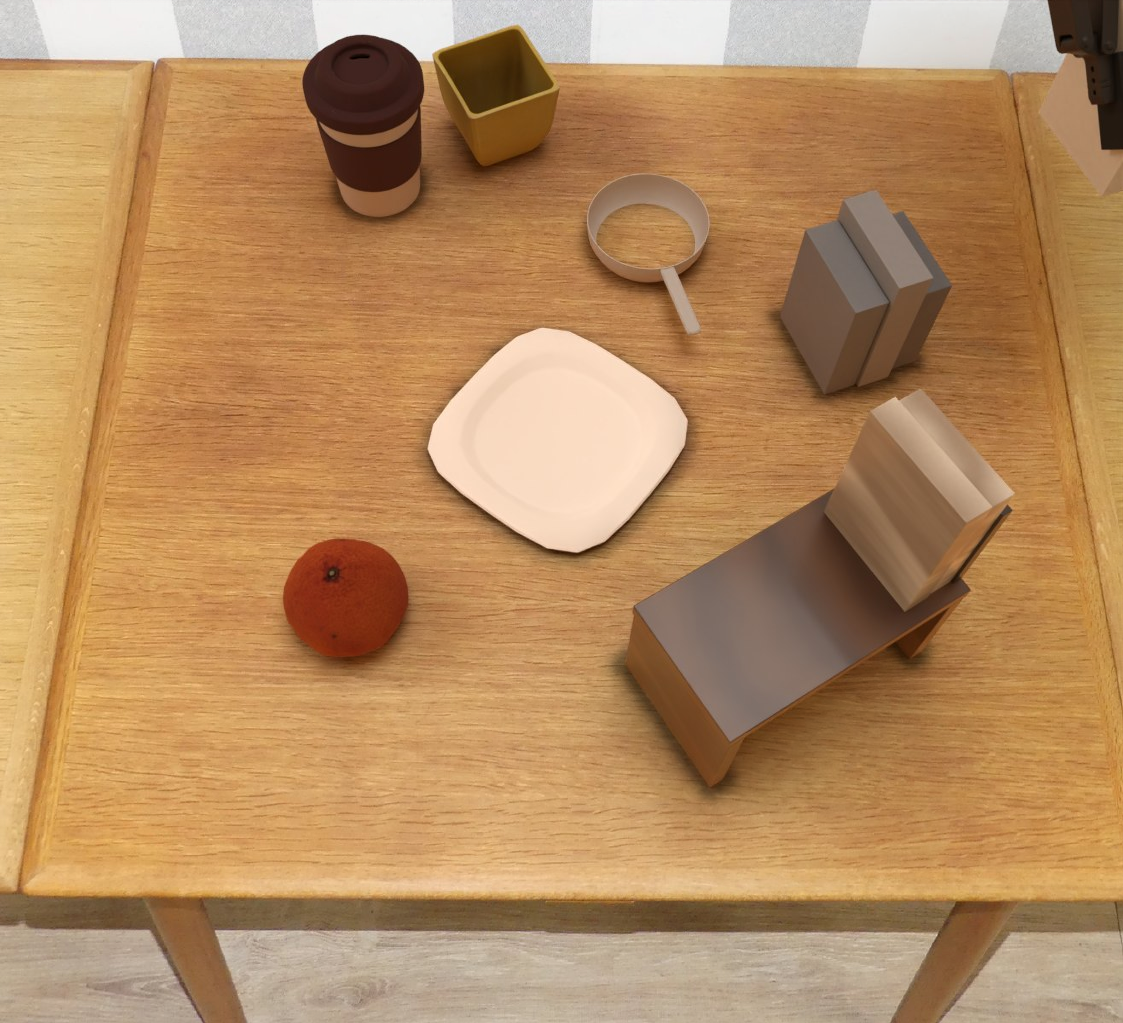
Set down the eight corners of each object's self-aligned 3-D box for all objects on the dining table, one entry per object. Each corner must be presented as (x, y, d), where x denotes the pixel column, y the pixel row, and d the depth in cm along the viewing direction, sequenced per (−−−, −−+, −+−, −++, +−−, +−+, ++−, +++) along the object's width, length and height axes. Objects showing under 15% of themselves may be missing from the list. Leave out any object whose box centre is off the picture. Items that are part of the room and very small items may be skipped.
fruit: (276, 655, 92) (254, 614, 85) (318, 552, 96) (301, 505, 89) (388, 686, 91) (376, 647, 84) (426, 580, 95) (417, 535, 88)
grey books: (776, 318, 107) (808, 209, 94) (867, 289, 108) (910, 179, 96) (824, 401, 103) (863, 300, 90) (917, 370, 104) (968, 266, 92)
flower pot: (560, 160, 115) (562, 87, 107) (475, 191, 113) (470, 118, 105) (520, 98, 118) (519, 22, 110) (437, 126, 116) (429, 51, 108)
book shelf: (832, 541, 97) (921, 361, 74) (921, 652, 93) (1044, 497, 70) (621, 667, 92) (649, 515, 69) (706, 791, 88) (764, 671, 65)
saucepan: (682, 189, 113) (687, 160, 110) (749, 344, 105) (756, 318, 102) (571, 213, 112) (572, 184, 108) (630, 372, 104) (633, 346, 100)
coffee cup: (402, 247, 110) (383, 123, 96) (306, 209, 111) (275, 82, 98) (453, 171, 114) (442, 43, 100) (360, 136, 115) (337, 5, 102)
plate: (402, 460, 100) (400, 450, 98) (538, 317, 106) (538, 305, 105) (580, 585, 95) (581, 576, 93) (711, 426, 101) (713, 416, 100)
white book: (1037, 113, 95) (1107, -30, 83) (1070, 103, 95) (1144, -40, 84) (1100, 197, 91) (1183, 60, 79) (1135, 186, 91) (1222, 48, 80)
